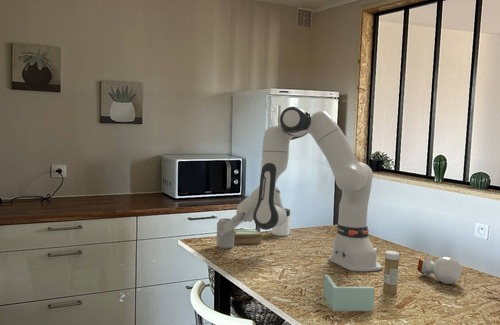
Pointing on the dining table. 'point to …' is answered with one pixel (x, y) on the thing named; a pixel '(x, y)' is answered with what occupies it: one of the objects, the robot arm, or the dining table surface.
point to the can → (227, 238)
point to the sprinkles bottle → (391, 272)
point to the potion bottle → (441, 269)
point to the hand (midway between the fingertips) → (224, 232)
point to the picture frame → (247, 236)
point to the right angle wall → (348, 297)
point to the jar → (283, 226)
